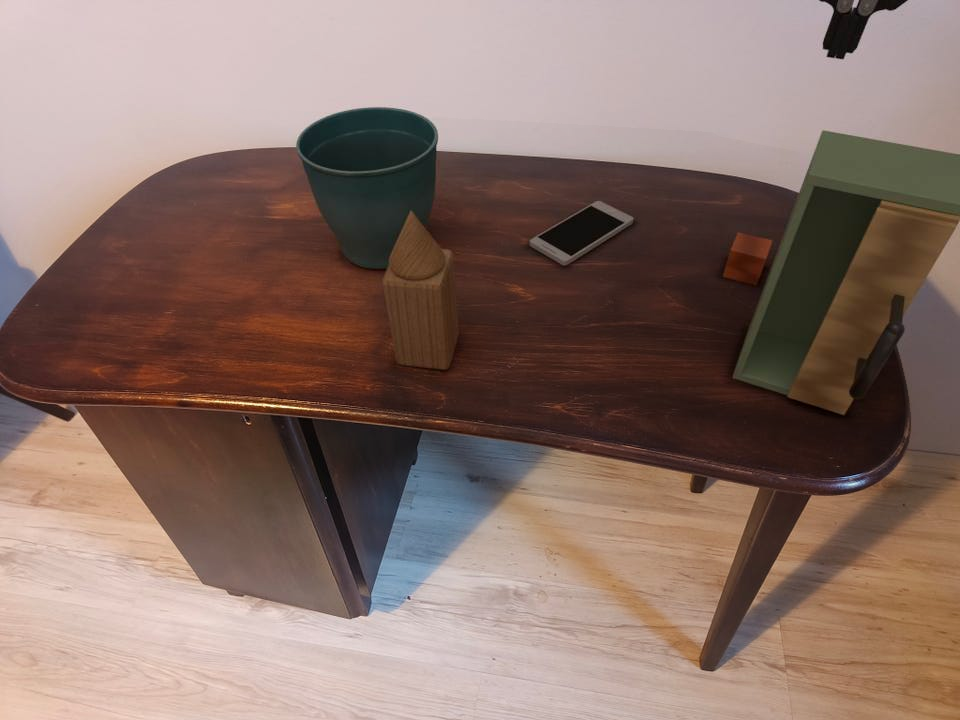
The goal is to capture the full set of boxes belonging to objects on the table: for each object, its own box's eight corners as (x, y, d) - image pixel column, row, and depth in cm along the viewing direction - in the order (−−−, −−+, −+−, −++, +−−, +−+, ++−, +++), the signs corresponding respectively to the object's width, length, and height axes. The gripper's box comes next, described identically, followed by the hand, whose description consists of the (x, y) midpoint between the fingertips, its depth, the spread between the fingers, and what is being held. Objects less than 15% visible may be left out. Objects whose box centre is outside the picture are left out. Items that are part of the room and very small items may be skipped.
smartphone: (634, 222, 96) (635, 217, 95) (564, 266, 89) (565, 261, 88) (597, 204, 100) (598, 199, 99) (528, 245, 93) (528, 240, 92)
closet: (853, 360, 75) (967, 155, 56) (843, 417, 69) (968, 209, 50) (748, 330, 79) (822, 129, 60) (730, 381, 73) (807, 177, 54)
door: (844, 411, 68) (956, 223, 51) (838, 451, 64) (956, 263, 48) (787, 393, 70) (877, 206, 53) (778, 430, 66) (871, 243, 50)
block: (762, 267, 88) (772, 240, 84) (756, 286, 85) (766, 258, 82) (729, 259, 89) (738, 231, 86) (722, 277, 86) (730, 249, 83)
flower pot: (422, 201, 102) (411, 96, 90) (465, 263, 90) (459, 151, 78) (311, 229, 97) (283, 122, 85) (341, 298, 85) (313, 185, 73)
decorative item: (395, 366, 76) (369, 225, 62) (408, 329, 81) (388, 189, 66) (449, 372, 75) (436, 230, 61) (460, 334, 80) (450, 193, 66)
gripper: (828, -196, 45) (753, 58, 57) (1048, -188, 41) (916, 84, 53) (836, -207, 49) (766, 30, 62) (1035, -201, 45) (916, 52, 58)
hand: (835, 55), depth 58 cm, fingers closed
